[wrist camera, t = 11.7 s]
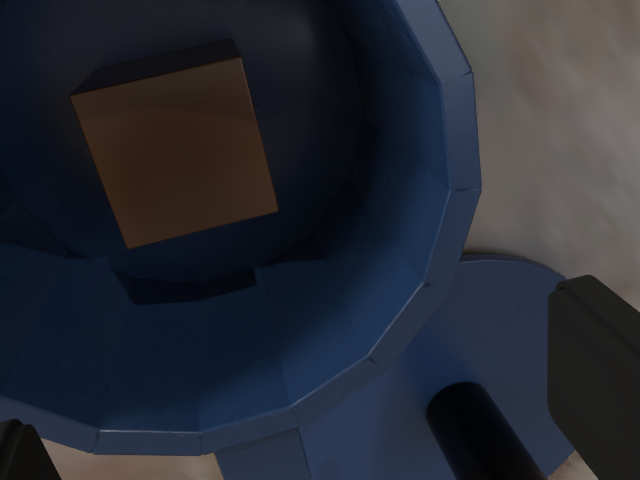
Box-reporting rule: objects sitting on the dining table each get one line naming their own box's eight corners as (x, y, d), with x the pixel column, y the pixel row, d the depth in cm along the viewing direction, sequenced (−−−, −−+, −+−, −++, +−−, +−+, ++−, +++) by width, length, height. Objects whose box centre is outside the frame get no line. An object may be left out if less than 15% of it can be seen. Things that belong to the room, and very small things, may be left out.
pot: (325, -269, 16) (435, -474, 9) (408, 299, 25) (501, 444, 17) (-182, -177, 15) (-556, -323, 8) (85, 387, 24) (32, 584, 16)
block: (232, 37, 19) (241, 55, 15) (264, 166, 21) (279, 212, 17) (94, 68, 18) (67, 95, 15) (140, 196, 20) (126, 251, 16)
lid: (598, 208, 25) (739, 292, 18) (593, 460, 31) (695, 587, 25) (254, 299, 23) (275, 424, 17) (323, 542, 30) (357, 699, 24)
